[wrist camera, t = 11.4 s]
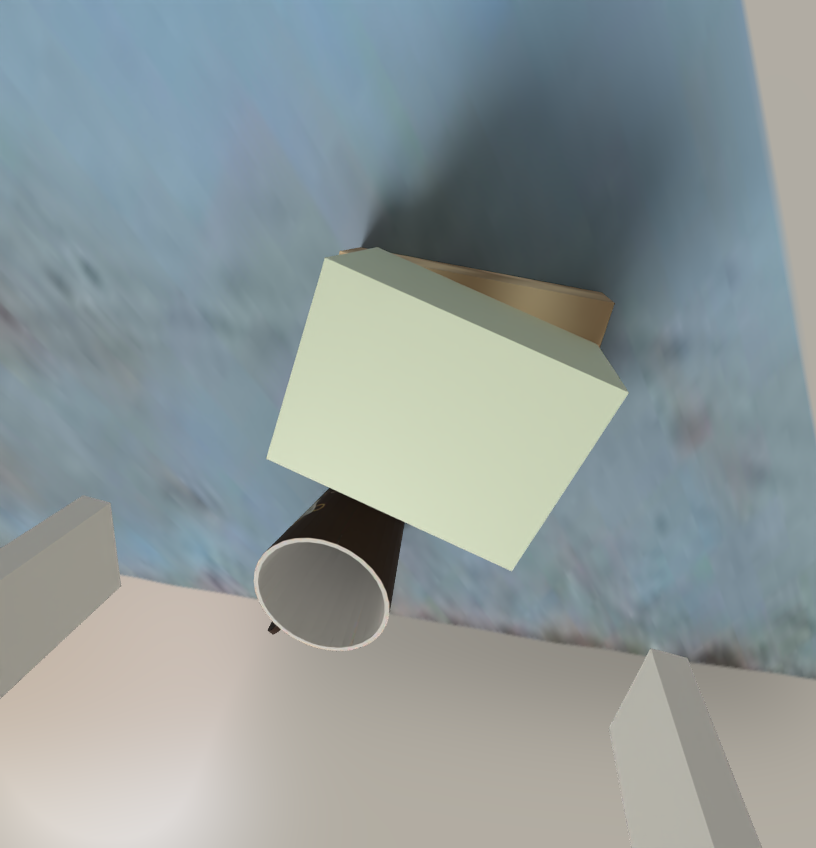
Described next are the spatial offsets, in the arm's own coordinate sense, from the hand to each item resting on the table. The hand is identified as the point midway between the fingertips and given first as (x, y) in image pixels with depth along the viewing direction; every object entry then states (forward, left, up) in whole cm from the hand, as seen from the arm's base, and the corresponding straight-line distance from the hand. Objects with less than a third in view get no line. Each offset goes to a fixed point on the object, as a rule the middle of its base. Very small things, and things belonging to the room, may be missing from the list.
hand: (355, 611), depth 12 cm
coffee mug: (-6, -14, -23) cm, 27 cm away
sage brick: (0, 0, -18) cm, 19 cm away
